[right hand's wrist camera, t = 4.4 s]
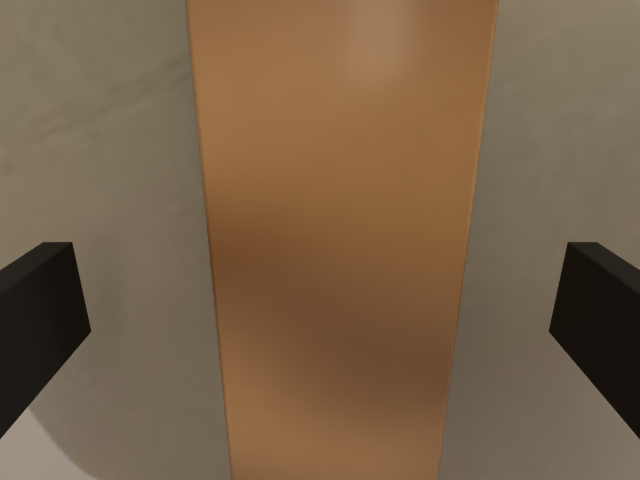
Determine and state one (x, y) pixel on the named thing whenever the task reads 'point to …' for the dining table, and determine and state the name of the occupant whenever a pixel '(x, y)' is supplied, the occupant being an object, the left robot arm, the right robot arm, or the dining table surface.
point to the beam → (338, 223)
